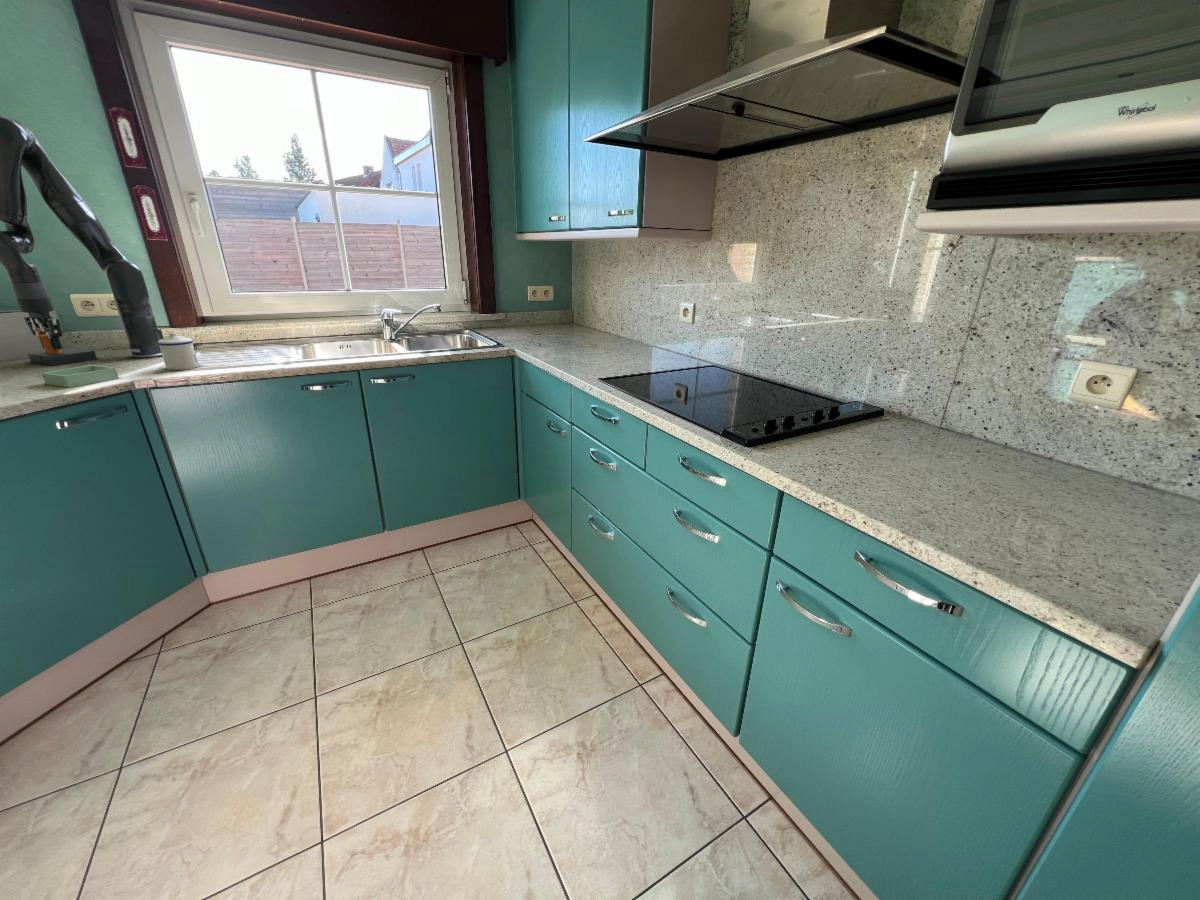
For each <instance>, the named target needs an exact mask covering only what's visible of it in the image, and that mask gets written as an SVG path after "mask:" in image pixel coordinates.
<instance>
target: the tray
mask: <svg viewBox="0 0 1200 900" xmlns="http://www.w3.org/2000/svg"><path fill="white" fill-rule="evenodd" d="M41 374H42V378H43V380H44V383H45V385H49V386H50V385H51V386H57V387H62V388H74V387H79V386H84V385H91V384H95V383H102V382H107V381H113V380H118V379H119V375H118V372H117V370H116V368H115V367H111V366H106V365H97V364H90V365H83V366H77V367H69V368H63V369H58V370H52V371H51V370H50V371H45V372H41Z"/></svg>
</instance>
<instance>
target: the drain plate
mask: <svg viewBox="0 0 1200 900" xmlns="http://www.w3.org/2000/svg"><path fill="white" fill-rule="evenodd" d="M61 350H62V353H59V354H47V352H46V350H44V351H35V352H30V353H27V356H28V358H29V361H30V363H33V364H39V365H47V366H60V365H67V364H73V363H74V364H75V363H80V362H88V361H93V360H98V357H97V355H96V351H95V350H91V349H83V348H75V347H68V348H62V349H61Z"/></svg>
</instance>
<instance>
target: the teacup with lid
mask: <svg viewBox="0 0 1200 900" xmlns="http://www.w3.org/2000/svg"><path fill="white" fill-rule="evenodd" d="M168 334H169V335H166V337H164V339H162V340H159V341H158V344H159V346H160V349H161V353H162V356H161V357H162V359H163V361H164V362H163V363H164V365H165V368H166V369H167V370H169V371H181V370H190V369H195V368H198V367H199V365H200V364H199V361H198V358H197V354H196V350H195V348H194V347H195V346H193V344H194V340H193V339H192V338H191V337H190V338H189V337H185V336H183V335H179V334H178V333H177V332H174V331H172V332H171V331H170V332H169V333H168Z"/></svg>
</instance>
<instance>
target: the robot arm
mask: <svg viewBox="0 0 1200 900" xmlns="http://www.w3.org/2000/svg"><path fill="white" fill-rule="evenodd" d="M22 168H23V169H24V171H25V172H26V173H27V175H28V176H29V178H31V180H32V182H33V185H34V186H35V189H36V191H37V192H38V194H39V196H40V198H41V199H42V201H43V202H44V204H45V205H46V207H47V208H48V209H49V210H50V212H51V213H52V214H53V215H54V217H55V218H56V219H57V220H58V221H59V222H60V224H61V225H62V226H63V227H64V228H65V229H66V230H67V231H68V232H69V233H70V234H71V235H72V236H73V237H74V238H75V239H76V240H77V241H78V242H79V243H80V244H81V245H82V246H83V247H84V248H85V250H87V252H88V253H89V254H90V255H91V257H92V258H93V259H94V261H95V262H96V263H97V265H98V267H99V268H100V269H101V271H102V272H103V274H104V276H105V277H106V279H107V280H108V283H109V286H110V289H111V292H112V295H113V299H114V305H115V307H116V310H117V313H118V316H119V319H120V322H121V325H122V328H123V332H124V334H125V338H126V340H127V343H128V346H129V350H130V353H131V357H132V358H136V359H144V358H146V359H147V358H157V357H163V356H162V353H161V349H160V346H159V344H158V341H159V340H162V339H164V338H165V337H164V334H163V332H162V328H160V327H158V325H157V324H158V323H157V321H156V317H155V315H154V311H153V308H152V305H151V299H150V294H149V291H148V287H147V284H146V281H145V277H144V274H143V272H142V271H141V269H140V268H139V266H138V265H136V264H134V263H133V262H131V261H129V259H127V257H125V256H124V254H123V253H122V252H121V251H120V250H119V249H118V247H117V246H116V245H115V244H114V243H113V241H112V240H111V238H110V237H109V235H108V233H107V231H106V230H105V228H104V226H103V225H102V223H101V222H100V220H99V218H98V217H97V215H96V214H95V213H94V211H93V210H92V209H91V207H90V206H89V204H88V203H87V202H86V201H85V200H84V198H83V197H82V196H81V195H80V194H79V193H78V191H77V190H76V189H75V188H74V186H73V185H72V184H71V183H70V182H69V180H67V178H66V177H65V176H64V175H63V174H62V173H61V172H60V170H59V169H58V168H57V167H56V165H55V164H54V163H53V161H52V160H51V159H50V157H49V156H48V154H47V152H46V151H45V150H44V148H43V146H42V145H41V143H40V142H39V141H38V139H37V137H36V136H35V135H34V133H33V131H31V130H30V128H29V127H27V125H25V124H23V123H22V122H21V121H19V120H17V119H14V118H12V117H8V116H3V115H1V116H0V222H1V223H3V224H4V227H5V230H3V229H0V265H1V267H3V269H4V270H5V272H6V275H7V277H8V280H9V282H10V285H11V289H12V290H11V291H12V293H13V295H14V297H15V300H16V302H17V303H16V304H17V305H18V307H19V310H20V312H22V313H26V314H27V313H28V316H25V317H23V319H24V322H25V323H26V325H27V327H28V328H29V330H30V332H31V334H32V335H33V336H36V338H38V336H37V335H42V334H46V335H47V336H48V338H49V341H50V343H51V346H52V348H53V349H54V350H59V349H63V346H62V343H61V341H60V337H63V333H62V328H61V323H60V320H59V318H53V317H52V315H51V314H50V312H54V311H55V308H54V306H53V303H52V300H51V298H50V295H49V292H48V290H47V288H46V286H45V284H44V282H43V280H42V278H41V277H42V276H41V274H40V272H39V270H38V268H37V266H36V265H35V264H33V263H30V262H27V261H25V259H24V258H23V256H22V255H29V254H32V252H33V251H34V249H35V245H36V241H35V237H34V234H33V231H32V228H31V224H30V223H29V219H28V218H29V214H28V213H29V204H28V203H29V202H28V195H27V191H26V188H25V184H24V181H23V174H22ZM38 339H39V342H40V345H41V346H42V348H43V349H45V347H44V345H43V342H42V340H41V338H38ZM195 343H196V344H194V343H193V344H194V345H193V346H194V347H197V346H198V345H199V342H195Z"/></svg>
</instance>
